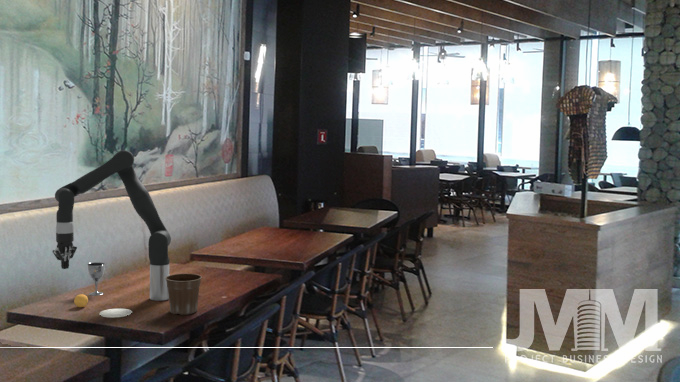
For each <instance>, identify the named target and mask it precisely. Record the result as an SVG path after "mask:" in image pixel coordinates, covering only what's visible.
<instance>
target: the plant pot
mask: <svg viewBox="0 0 680 382" xmlns="http://www.w3.org/2000/svg"><path fill="white" fill-rule="evenodd" d="M202 278H203V277H202V275H200V274H198V273H197V274H196V273H175V274H169V276H167V277H166V278H165V279H166V281H167V287H168V293H169V299H168V302H169V303H168V304H169V312H170V314H172V315H178V314H179V315H182V316H183V315H184V316H185V315H193V314H195V313H196V312H197V311H198V305H199V292H200V286H201V281H202Z"/></svg>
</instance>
